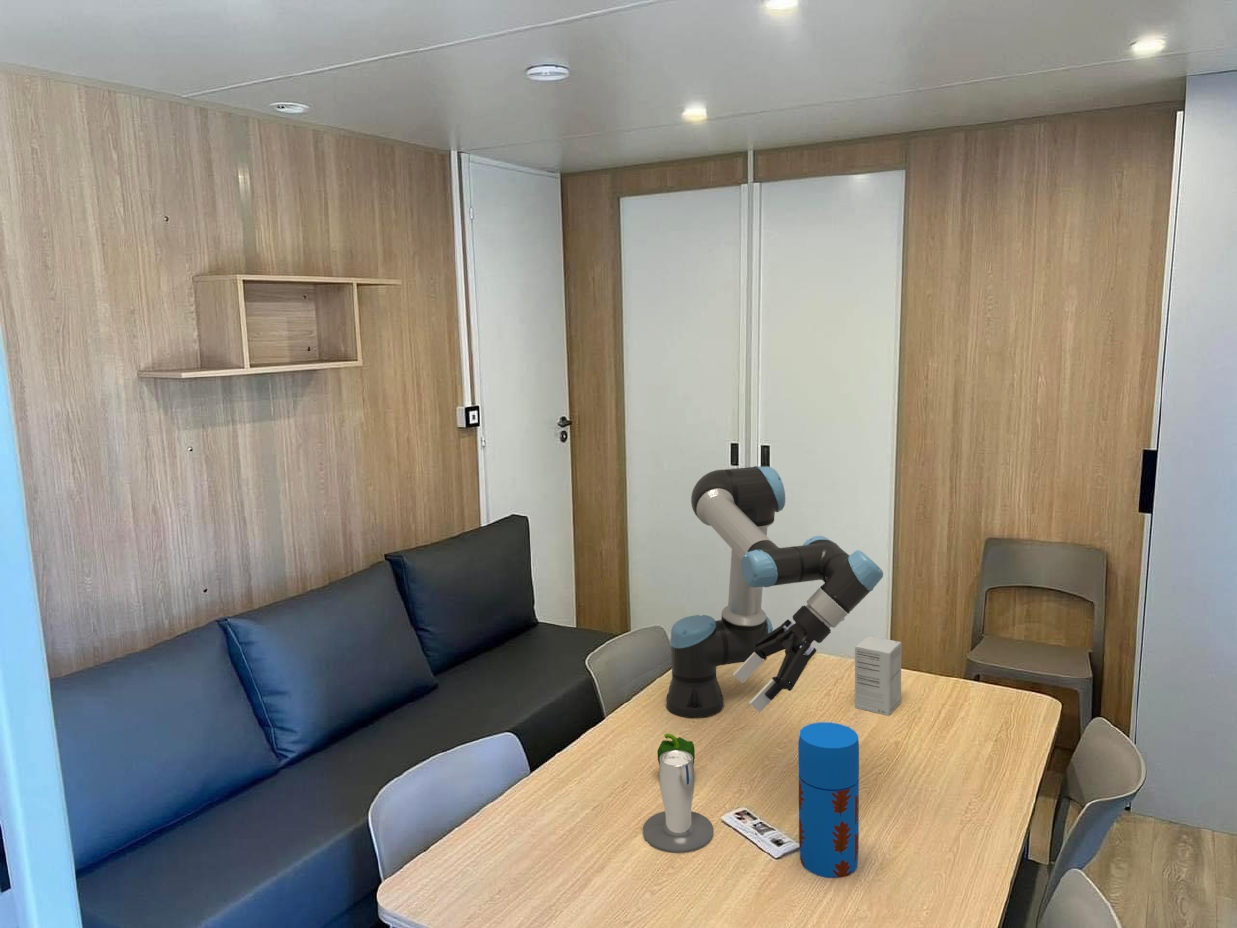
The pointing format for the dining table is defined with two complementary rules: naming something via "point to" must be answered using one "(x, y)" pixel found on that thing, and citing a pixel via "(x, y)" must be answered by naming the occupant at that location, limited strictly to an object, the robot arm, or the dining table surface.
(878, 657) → the supplement box
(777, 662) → the dining table surface
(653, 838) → the coaster
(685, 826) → the metal tumbler
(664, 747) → the bell pepper
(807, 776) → the thermos
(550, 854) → the dining table surface
